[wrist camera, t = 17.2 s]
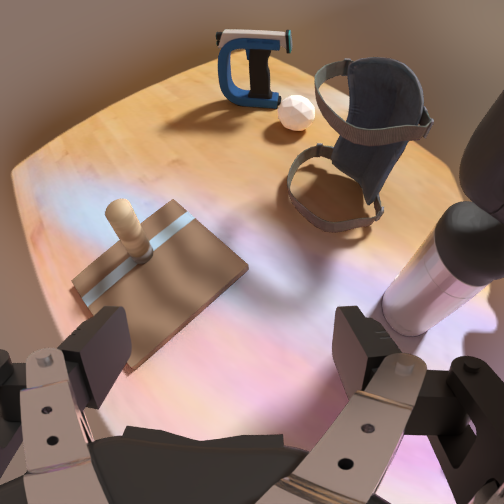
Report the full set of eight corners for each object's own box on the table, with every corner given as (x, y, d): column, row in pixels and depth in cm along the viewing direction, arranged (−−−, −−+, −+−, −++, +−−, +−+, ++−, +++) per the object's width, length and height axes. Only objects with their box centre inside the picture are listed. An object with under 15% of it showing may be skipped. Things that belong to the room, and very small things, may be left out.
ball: (295, 142, 66) (287, 131, 58) (275, 115, 67) (266, 102, 59) (324, 124, 64) (320, 111, 56) (303, 97, 64) (297, 82, 57)
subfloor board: (174, 204, 54) (173, 198, 53) (248, 269, 47) (248, 264, 46) (75, 284, 46) (71, 280, 45) (135, 370, 40) (131, 368, 38)
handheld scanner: (287, 110, 67) (292, 35, 51) (219, 106, 69) (213, 32, 53) (288, 101, 70) (293, 29, 53) (224, 96, 71) (218, 26, 55)
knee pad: (409, 210, 53) (465, 98, 31) (325, 255, 48) (367, 122, 27) (350, 147, 61) (375, 39, 40) (266, 178, 57) (269, 50, 35)
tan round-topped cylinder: (145, 239, 48) (122, 194, 39) (157, 253, 47) (135, 208, 38) (127, 253, 47) (100, 210, 38) (139, 268, 46) (112, 226, 36)
